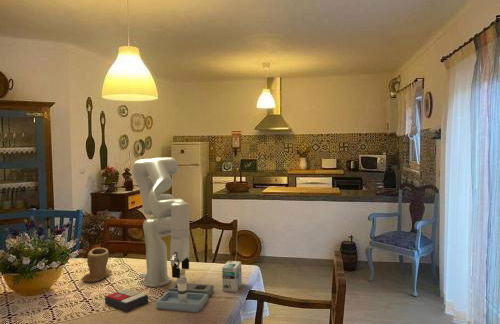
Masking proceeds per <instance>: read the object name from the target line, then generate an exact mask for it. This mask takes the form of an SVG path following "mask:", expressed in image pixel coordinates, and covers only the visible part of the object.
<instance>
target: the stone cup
mask: <svg viewBox="0 0 500 324" xmlns="http://www.w3.org/2000/svg"><path fill="white" fill-rule="evenodd" d="M109 254H110V252H109V250H108V249H107V248H104V247H95V248H92V249H91V250H89V251H88V253H87V260H86V261H87V266H88V269H89V273H87V274H85V275H84V276H82V278H81V280H83V281H84V282H89V283H90V282H98V281H100V280H103V279H104V278H105V277H107V276H109V275H110V274H111V273H113V271H112V270H111V269H110V268H109V267H107V265H108V261H109V258H110V257H109V256H110V255H109Z"/></svg>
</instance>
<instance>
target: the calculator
mask: <svg viewBox="0 0 500 324" xmlns="http://www.w3.org/2000/svg"><path fill="white" fill-rule="evenodd" d="M104 303H105V305H107V304H108V305H107V306H110V307H112V308H116V309H119V310H121V311H123V312H126V313H128V312H131V311H133V310H135V309H138V308H139V307H143V306H144V305H147V304H149V295H148V294H147V293H142V292H140V291H136V290H132V289H129V288H124V289H121V290H119V291H117V292H113V293H111V294H107V295H106V296H105V297H104Z"/></svg>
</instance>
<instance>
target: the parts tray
mask: <svg viewBox="0 0 500 324" xmlns="http://www.w3.org/2000/svg"><path fill="white" fill-rule="evenodd" d="M208 301H209V297H208V294H201V293H187V303H181V302H178V292H173V291H168V290H167V291H166V292H165V293H164V294H163V295H162V296H161V297H160V298H158V299H157V300H156V302H155V304H156V305H155V306H156V307H155V308H156V310H157V309H158V310H165V311H181V312H193V313H199V312H201V310H202V309H203V307H204V306H205V305H206V304H207V303H208Z"/></svg>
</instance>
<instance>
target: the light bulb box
mask: <svg viewBox="0 0 500 324" xmlns="http://www.w3.org/2000/svg"><path fill="white" fill-rule="evenodd" d="M221 272H222V292H234V293H236V292H238V291H239V289H240V287H241V286H242V284H243V281H242V279H243V278H242V261H234V260H228V261H227V262H226V263H225V264H224V265H223V266H222V267H221Z"/></svg>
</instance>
